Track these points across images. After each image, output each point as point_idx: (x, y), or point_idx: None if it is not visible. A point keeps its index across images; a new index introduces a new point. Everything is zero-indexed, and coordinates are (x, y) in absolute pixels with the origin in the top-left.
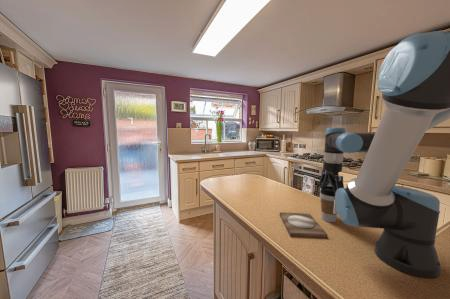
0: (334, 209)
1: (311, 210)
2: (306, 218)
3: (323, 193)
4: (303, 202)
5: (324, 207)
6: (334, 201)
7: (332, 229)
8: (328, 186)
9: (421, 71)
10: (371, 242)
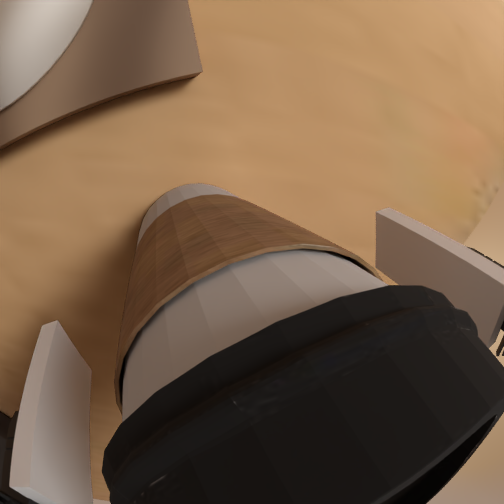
0: (32, 362)
1: (338, 123)
2: (44, 39)
3: (191, 404)
4: (445, 108)
5: (149, 244)
6: (26, 448)
7: (20, 250)
8: (478, 446)
9: None
10: (14, 400)
